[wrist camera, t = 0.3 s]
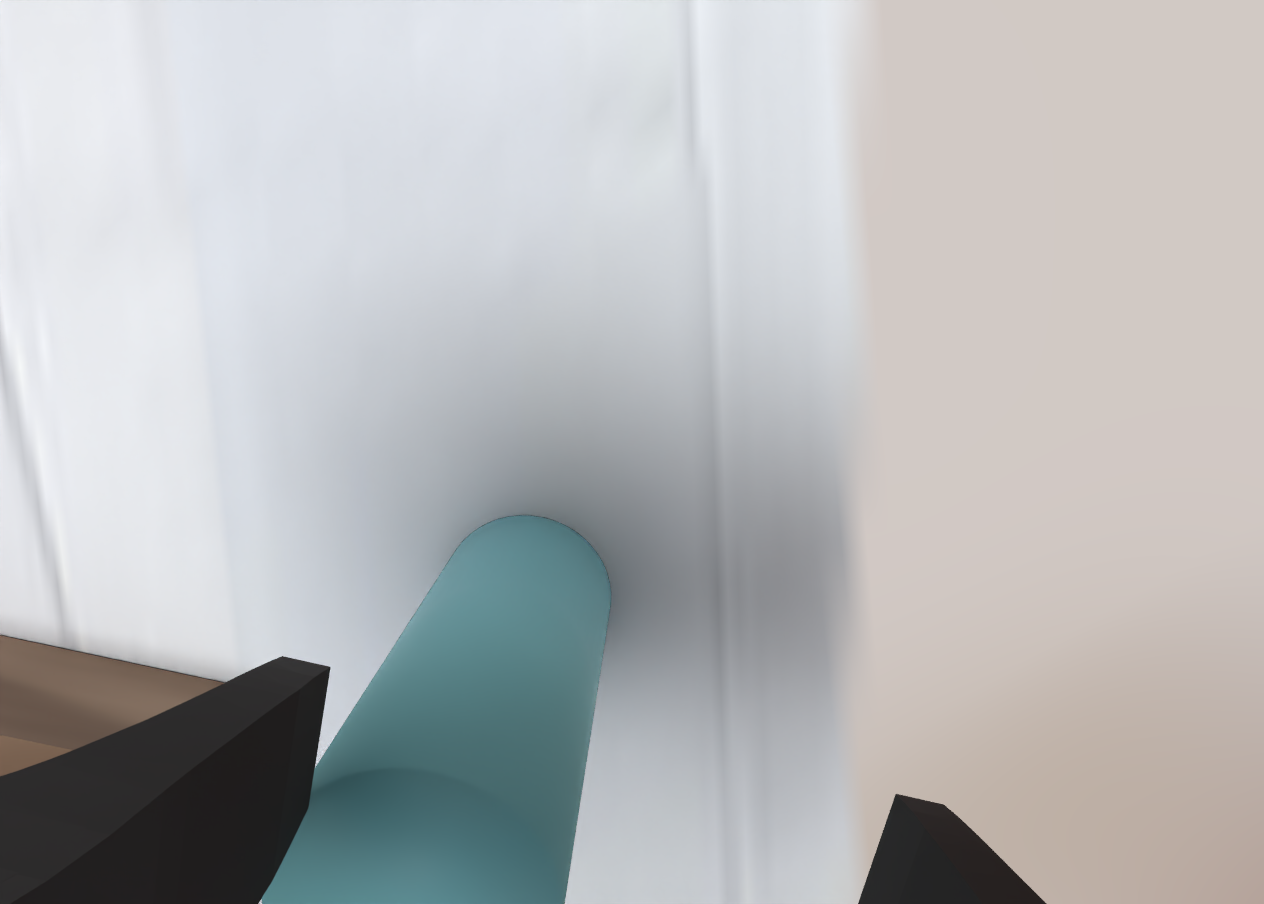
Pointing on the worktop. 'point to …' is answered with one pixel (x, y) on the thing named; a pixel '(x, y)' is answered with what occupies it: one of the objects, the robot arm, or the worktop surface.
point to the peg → (466, 736)
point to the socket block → (76, 699)
